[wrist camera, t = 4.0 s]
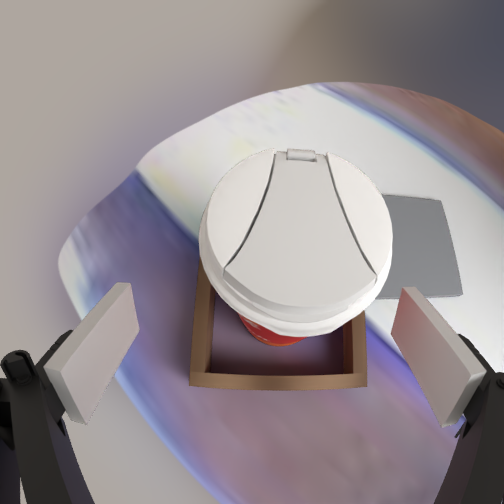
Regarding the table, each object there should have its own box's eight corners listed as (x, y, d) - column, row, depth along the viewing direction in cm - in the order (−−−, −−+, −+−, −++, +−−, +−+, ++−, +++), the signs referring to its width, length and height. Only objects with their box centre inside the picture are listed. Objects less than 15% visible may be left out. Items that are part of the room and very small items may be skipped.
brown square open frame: (348, 243, 25) (356, 229, 23) (356, 386, 20) (367, 386, 18) (208, 240, 26) (203, 225, 24) (196, 385, 21) (188, 385, 19)
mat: (438, 203, 27) (440, 200, 27) (459, 296, 23) (462, 294, 22) (352, 196, 27) (353, 192, 27) (364, 299, 23) (367, 297, 23)
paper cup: (233, 262, 25) (209, 134, 12) (327, 267, 25) (386, 147, 12) (224, 358, 22) (175, 321, 9) (327, 363, 21) (416, 330, 9)
